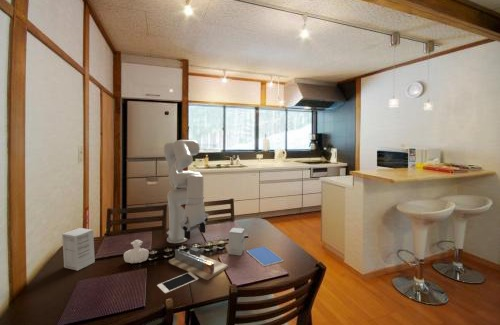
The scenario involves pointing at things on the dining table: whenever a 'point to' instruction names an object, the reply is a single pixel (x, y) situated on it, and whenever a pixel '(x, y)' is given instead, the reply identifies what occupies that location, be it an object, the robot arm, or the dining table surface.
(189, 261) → the tongs fixed arm
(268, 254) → the tablet computer
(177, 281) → the cell phone
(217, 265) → the rest board
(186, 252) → the tongs hinged arm
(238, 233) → the supplement box
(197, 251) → the lock slider
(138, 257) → the white rounded piece
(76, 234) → the supplement box
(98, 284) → the dining table surface
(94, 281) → the dining table surface
